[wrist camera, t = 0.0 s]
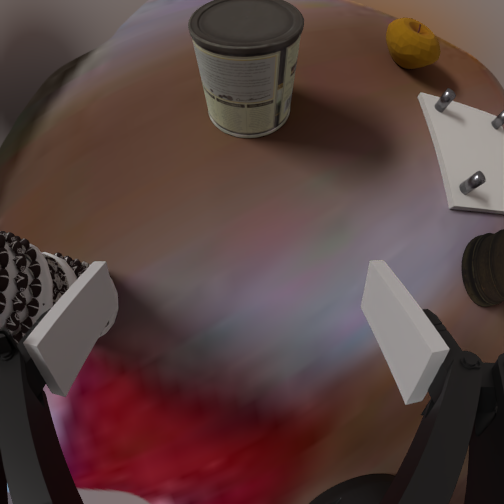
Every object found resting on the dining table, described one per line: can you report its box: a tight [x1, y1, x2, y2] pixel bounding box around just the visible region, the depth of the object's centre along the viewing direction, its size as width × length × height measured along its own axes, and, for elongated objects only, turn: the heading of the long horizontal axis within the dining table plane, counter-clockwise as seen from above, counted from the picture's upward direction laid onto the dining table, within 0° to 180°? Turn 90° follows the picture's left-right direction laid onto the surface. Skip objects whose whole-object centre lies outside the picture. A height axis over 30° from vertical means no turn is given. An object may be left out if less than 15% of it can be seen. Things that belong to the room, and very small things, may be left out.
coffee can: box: [188, 0, 304, 138], centre depth 27 cm, size 10×10×14 cm
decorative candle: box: [0, 231, 119, 344], centre depth 17 cm, size 9×9×25 cm
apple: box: [386, 18, 440, 69], centre depth 32 cm, size 9×9×9 cm
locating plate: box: [418, 88, 504, 214], centre depth 30 cm, size 18×18×5 cm
